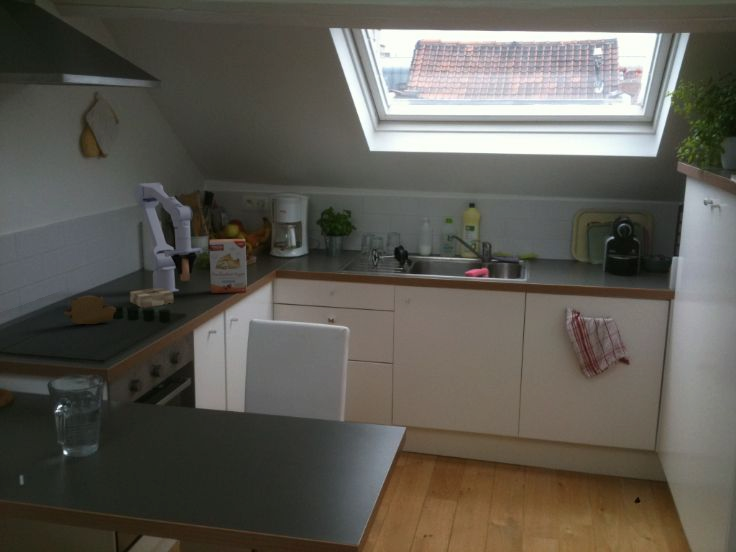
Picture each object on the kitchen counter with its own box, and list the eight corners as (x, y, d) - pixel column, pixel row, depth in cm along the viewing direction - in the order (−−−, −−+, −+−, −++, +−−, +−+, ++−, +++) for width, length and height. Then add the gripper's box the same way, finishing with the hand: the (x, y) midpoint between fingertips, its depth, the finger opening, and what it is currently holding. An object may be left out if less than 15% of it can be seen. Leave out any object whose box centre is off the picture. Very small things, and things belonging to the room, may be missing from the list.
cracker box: (211, 294, 293) (208, 241, 289) (211, 290, 298) (209, 239, 294) (247, 292, 295) (245, 240, 291) (247, 289, 301) (245, 238, 297)
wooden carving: (116, 320, 253) (114, 291, 251) (117, 323, 249) (115, 293, 247) (64, 325, 247) (61, 295, 245) (64, 328, 242) (62, 298, 241)
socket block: (130, 301, 280) (129, 291, 279) (161, 297, 287) (160, 287, 286) (142, 307, 270) (141, 297, 269) (173, 303, 277) (173, 292, 277)
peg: (179, 279, 287) (178, 259, 285) (187, 278, 289) (186, 258, 287) (182, 281, 284) (181, 260, 282) (191, 280, 286) (190, 259, 284)
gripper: (168, 241, 276) (170, 277, 278) (205, 237, 284) (206, 272, 287) (161, 239, 281) (163, 274, 284) (197, 235, 290) (198, 269, 292)
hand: (184, 273), depth 286 cm, fingers closed on peg, 3 cm apart
